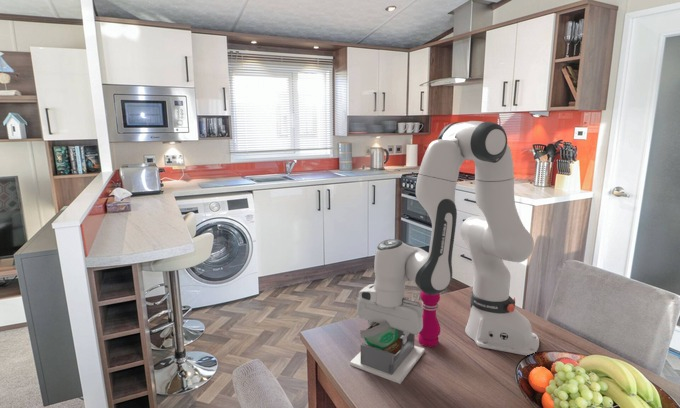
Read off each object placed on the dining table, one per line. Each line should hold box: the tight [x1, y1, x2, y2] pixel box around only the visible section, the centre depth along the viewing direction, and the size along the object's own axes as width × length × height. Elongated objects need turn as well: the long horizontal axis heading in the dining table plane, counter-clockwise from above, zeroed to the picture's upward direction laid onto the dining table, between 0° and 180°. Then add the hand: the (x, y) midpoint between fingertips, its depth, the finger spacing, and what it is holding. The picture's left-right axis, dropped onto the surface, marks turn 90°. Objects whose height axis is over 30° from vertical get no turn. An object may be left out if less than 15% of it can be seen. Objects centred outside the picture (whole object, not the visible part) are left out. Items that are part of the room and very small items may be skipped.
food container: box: [359, 320, 402, 355], centre depth 116 cm, size 12×6×10 cm, turn 127°
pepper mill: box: [418, 290, 441, 348], centre depth 125 cm, size 7×7×20 cm
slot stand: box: [349, 329, 425, 385], centre depth 117 cm, size 16×18×7 cm
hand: (388, 338), depth 117 cm, fingers open, 8 cm apart
